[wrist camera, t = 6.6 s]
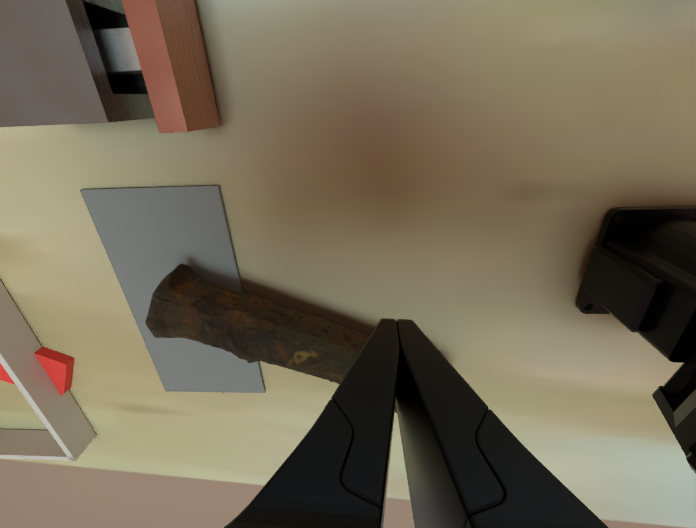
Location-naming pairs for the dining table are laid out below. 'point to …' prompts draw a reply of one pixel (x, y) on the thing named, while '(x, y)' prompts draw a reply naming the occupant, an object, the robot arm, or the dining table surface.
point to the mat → (162, 258)
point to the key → (164, 61)
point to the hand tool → (251, 327)
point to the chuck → (63, 65)
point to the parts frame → (37, 396)
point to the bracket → (51, 368)
